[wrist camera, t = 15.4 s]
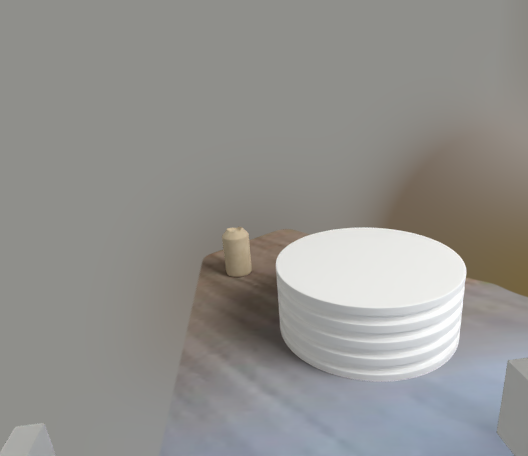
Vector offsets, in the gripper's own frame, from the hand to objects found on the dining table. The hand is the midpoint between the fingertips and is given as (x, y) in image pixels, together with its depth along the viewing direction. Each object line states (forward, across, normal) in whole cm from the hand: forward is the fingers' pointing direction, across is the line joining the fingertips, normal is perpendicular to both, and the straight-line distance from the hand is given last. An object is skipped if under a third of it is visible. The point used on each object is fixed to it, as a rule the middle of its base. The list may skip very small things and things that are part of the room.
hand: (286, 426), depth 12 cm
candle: (+71, -2, -30) cm, 77 cm away
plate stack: (+47, +18, -30) cm, 59 cm away
